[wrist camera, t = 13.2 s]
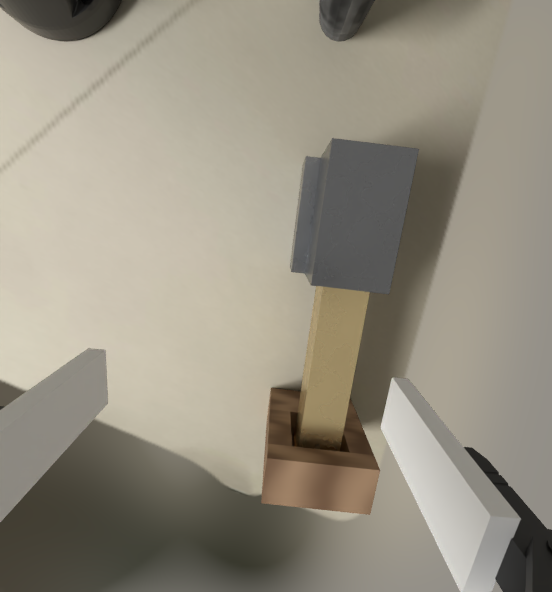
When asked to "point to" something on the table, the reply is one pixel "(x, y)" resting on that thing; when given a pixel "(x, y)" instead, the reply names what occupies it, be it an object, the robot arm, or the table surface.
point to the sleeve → (352, 215)
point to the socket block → (316, 463)
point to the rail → (329, 367)
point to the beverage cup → (342, 17)
